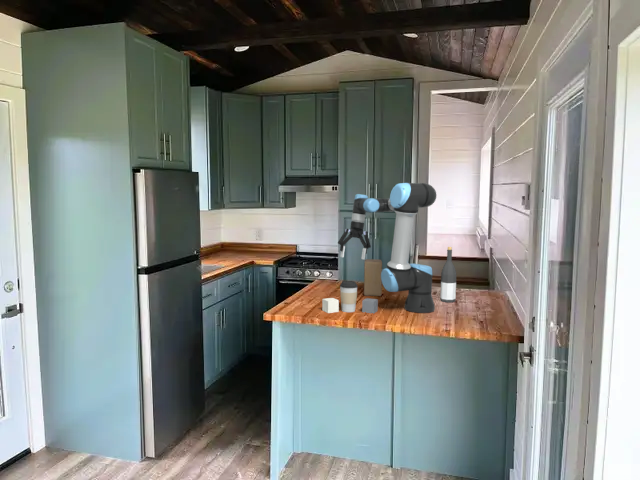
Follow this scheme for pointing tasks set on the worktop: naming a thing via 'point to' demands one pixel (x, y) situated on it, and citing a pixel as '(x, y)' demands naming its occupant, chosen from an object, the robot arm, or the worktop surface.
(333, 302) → the cream block
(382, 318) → the worktop surface
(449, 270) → the wine bottle
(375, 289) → the block
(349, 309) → the coffee cup
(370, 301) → the charcoal block
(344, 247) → the robot arm
